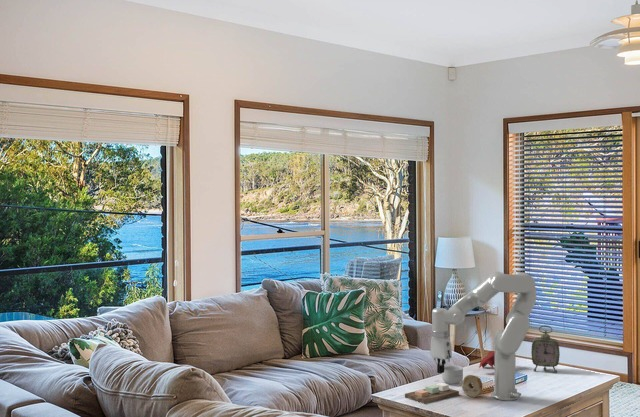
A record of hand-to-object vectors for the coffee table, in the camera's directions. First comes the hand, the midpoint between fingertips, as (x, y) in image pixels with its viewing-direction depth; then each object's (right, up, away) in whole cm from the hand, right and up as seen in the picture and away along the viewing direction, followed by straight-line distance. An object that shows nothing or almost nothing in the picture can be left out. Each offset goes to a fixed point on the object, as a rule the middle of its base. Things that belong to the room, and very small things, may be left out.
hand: (440, 372), depth 334 cm
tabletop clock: (+65, -11, +48) cm, 81 cm away
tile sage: (-5, -8, -3) cm, 10 cm away
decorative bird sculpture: (+37, -10, +50) cm, 63 cm away
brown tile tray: (-5, -11, -3) cm, 12 cm away
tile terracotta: (-10, -10, -7) cm, 16 cm away
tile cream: (+1, -8, +2) cm, 9 cm away
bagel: (+15, -11, -2) cm, 18 cm away
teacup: (+10, -11, +22) cm, 27 cm away
